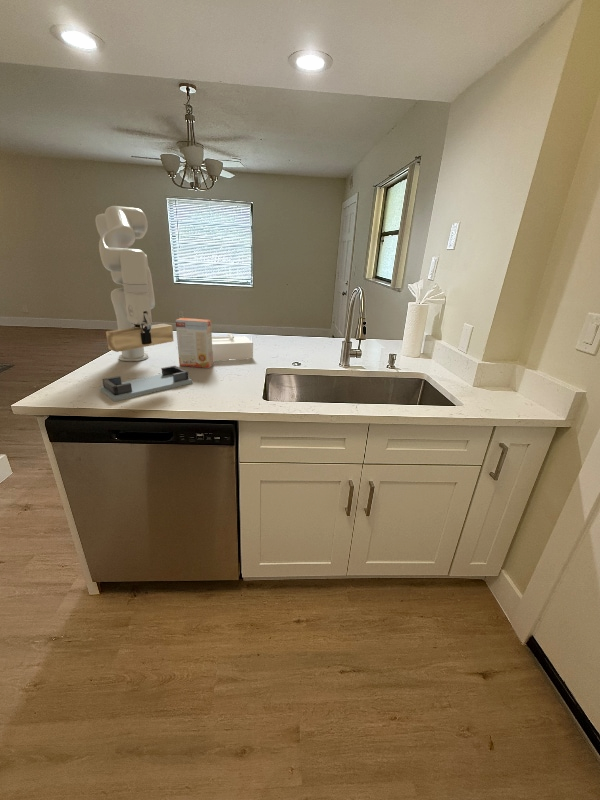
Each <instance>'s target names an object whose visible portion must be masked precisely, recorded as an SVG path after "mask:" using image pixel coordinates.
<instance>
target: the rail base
mask: <svg viewBox="0 0 600 800" xmlns="http://www.w3.org/2000/svg"><path fill="white" fill-rule="evenodd" d="M101 380H102V384H103V385H100V386H99V387H100V391H101V392H102V393H103V394H104V395H106V396H107V397H108V398H109V399H111V400H112V401H113V402H118V401H122V400H126V399H131V398H134V396H136V397H140V396H144V395H148V394H153V393H157V392H161V391H165V389H166V390H169V389H174V388H177V387H181V386H182V385H183V386H185V385H190V384H191V385H192V384H193V379H192V378H190V377H189V371H188V370H184V369H183V368H180V367H179V366H177V365H170V366H165V367H161V373H160V374H156V375H151V376H150V375H149V376H146V377H141V378H136V379H131V380H126V381H122V377H121V376H120V375H117V376H112V377H106V378H102V379H101ZM156 391H157V392H156ZM152 392H153V393H152ZM143 394H144V395H143ZM139 395H140V396H139ZM130 397H131V398H130Z"/></svg>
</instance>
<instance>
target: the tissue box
mask: <svg viewBox="0 0 600 800" xmlns="http://www.w3.org/2000/svg"><path fill="white" fill-rule="evenodd" d="M212 351H213V362H218V361H217V360H229V359H246V360H248V359H247V358H253V359H254V342H253V341H252V340H251V339H250V338H248V337H247V336H244V335H243V336H234V335H233V334H232V333H229V334H227V336H212ZM229 361H230V360H229Z"/></svg>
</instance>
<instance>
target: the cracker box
mask: <svg viewBox="0 0 600 800" xmlns="http://www.w3.org/2000/svg"><path fill="white" fill-rule="evenodd" d="M175 329H176V339H177V340H176V341H177V352H178V353H177V354H178V364H179V366H180V367H193V368H204V369H205V368H206V369H210V368H211V367H212V366H213V365H214V361H213V351H212V337H213V333H212V319H201V318H200V319H199V318H189V317H180V318H177V319H175Z"/></svg>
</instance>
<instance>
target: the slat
mask: <svg viewBox="0 0 600 800" xmlns="http://www.w3.org/2000/svg"><path fill="white" fill-rule="evenodd" d="M144 327H145V326H143V328H144ZM150 330H151V341H152V343H151V344H144V345H143V344H142V340H141V333H142V331H141V328H140V327H135V328H128V329H120V330H118V329H115V330H113V329H112V330H107V331H105V335H106V340H107V346H108V348H107V349H108V350H111V351H113V352H116V353H119V352H122V351H125V350H130V349H136V348H141V347H144V348H146V347H151V346H157V345H162V344H167V343H172V342H174V341H175V340H174V330H173V325H172V324H167V323H159V324H152V326H151V329H150Z"/></svg>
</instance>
